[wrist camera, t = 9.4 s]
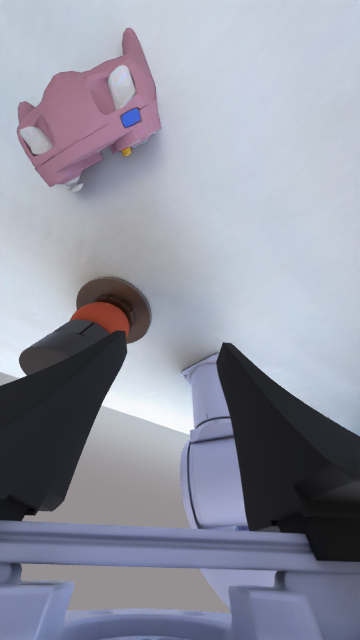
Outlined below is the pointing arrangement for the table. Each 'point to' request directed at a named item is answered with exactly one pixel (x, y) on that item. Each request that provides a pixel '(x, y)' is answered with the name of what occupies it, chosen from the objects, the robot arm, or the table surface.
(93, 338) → the cap
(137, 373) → the table surface
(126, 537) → the robot arm
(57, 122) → the pink toy car
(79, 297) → the ball stand
